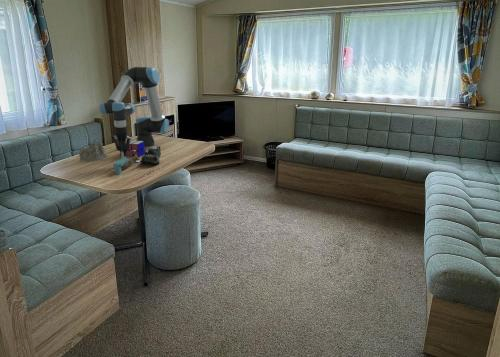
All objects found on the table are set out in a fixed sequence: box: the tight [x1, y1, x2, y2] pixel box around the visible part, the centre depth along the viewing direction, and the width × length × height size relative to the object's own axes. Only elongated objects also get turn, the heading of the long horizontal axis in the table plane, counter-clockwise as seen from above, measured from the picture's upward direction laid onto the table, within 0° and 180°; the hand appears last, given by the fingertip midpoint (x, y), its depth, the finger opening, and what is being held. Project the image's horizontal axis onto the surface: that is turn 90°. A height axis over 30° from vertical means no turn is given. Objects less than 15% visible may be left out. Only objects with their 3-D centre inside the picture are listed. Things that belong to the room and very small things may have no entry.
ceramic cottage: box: [78, 139, 108, 162], centre depth 247 cm, size 16×16×15 cm
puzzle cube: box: [126, 140, 146, 158], centre depth 257 cm, size 10×10×10 cm
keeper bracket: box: [112, 157, 129, 175], centre depth 222 cm, size 14×5×6 cm, turn 177°
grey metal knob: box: [130, 150, 141, 164], centre depth 242 cm, size 8×8×8 cm
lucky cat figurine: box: [139, 146, 162, 165], centre depth 238 cm, size 15×12×14 cm
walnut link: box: [121, 155, 139, 170], centre depth 233 cm, size 24×5×3 cm, turn 174°
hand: (124, 160), depth 234 cm, fingers closed
